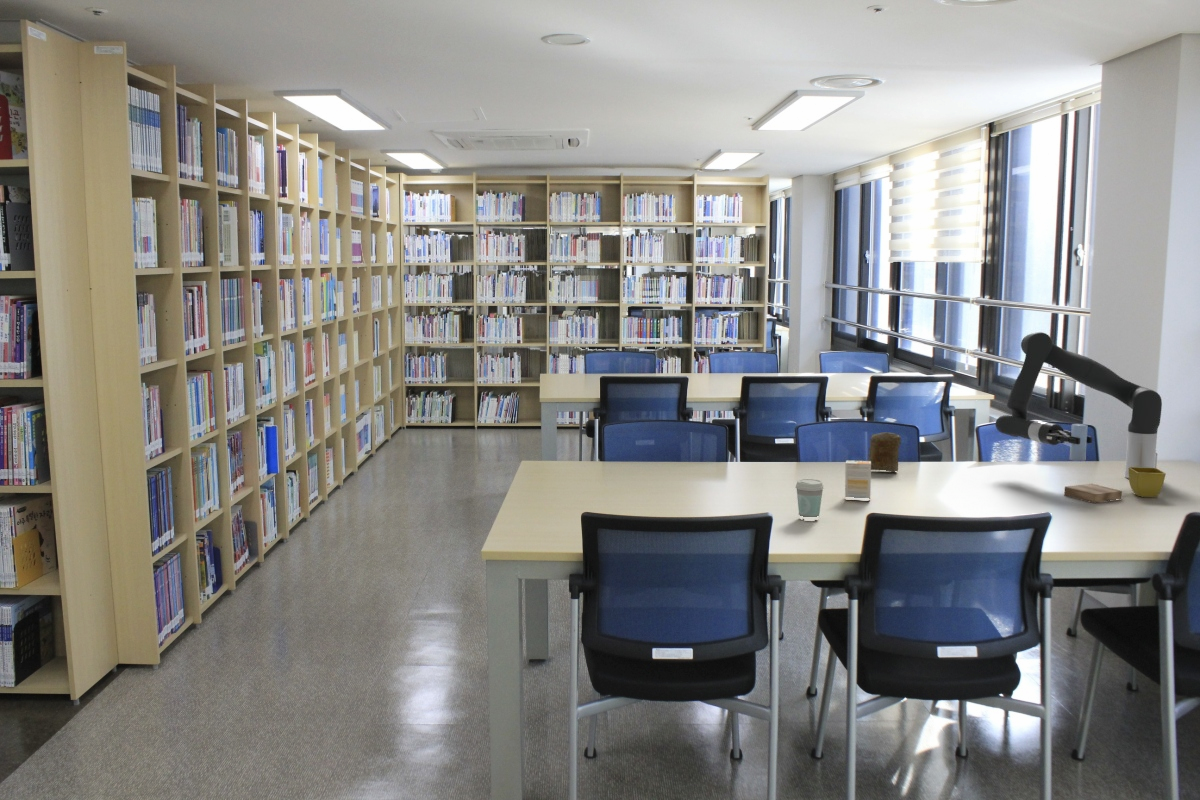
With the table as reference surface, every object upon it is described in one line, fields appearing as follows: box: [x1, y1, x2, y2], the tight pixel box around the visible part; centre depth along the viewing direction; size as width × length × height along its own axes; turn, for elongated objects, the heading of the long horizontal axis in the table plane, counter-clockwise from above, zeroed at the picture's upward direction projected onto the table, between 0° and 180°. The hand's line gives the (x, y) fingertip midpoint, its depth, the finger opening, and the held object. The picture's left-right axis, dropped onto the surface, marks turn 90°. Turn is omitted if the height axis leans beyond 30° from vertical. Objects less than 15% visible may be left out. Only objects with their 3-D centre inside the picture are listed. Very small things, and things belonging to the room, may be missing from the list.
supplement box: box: [844, 459, 872, 500], centre depth 305 cm, size 8×5×13 cm, turn 71°
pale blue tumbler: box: [1069, 423, 1089, 462], centre depth 309 cm, size 5×5×12 cm
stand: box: [1063, 483, 1123, 504], centre depth 305 cm, size 12×12×3 cm
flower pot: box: [1128, 467, 1166, 498], centre depth 306 cm, size 9×9×9 cm
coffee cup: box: [795, 478, 825, 517], centre depth 281 cm, size 8×9×12 cm
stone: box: [868, 431, 902, 473], centre depth 348 cm, size 11×9×15 cm
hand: (1085, 440), depth 307 cm, fingers closed on pale blue tumbler, 4 cm apart
